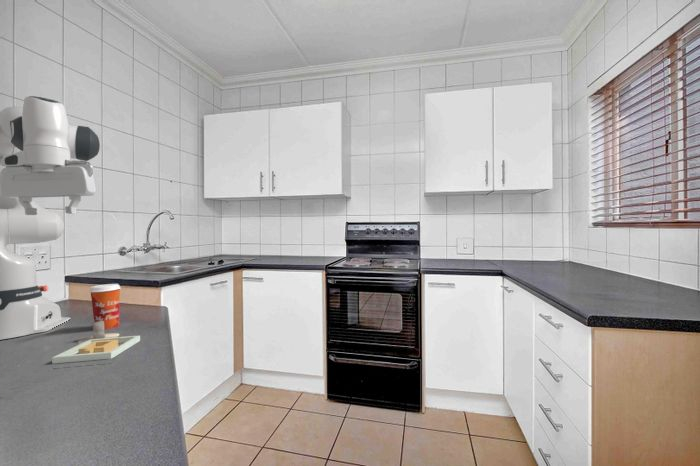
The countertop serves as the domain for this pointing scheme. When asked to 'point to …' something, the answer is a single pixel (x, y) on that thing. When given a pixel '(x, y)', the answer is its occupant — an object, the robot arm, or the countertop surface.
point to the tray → (70, 357)
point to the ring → (99, 347)
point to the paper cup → (106, 304)
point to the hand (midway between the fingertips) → (51, 214)
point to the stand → (99, 332)
